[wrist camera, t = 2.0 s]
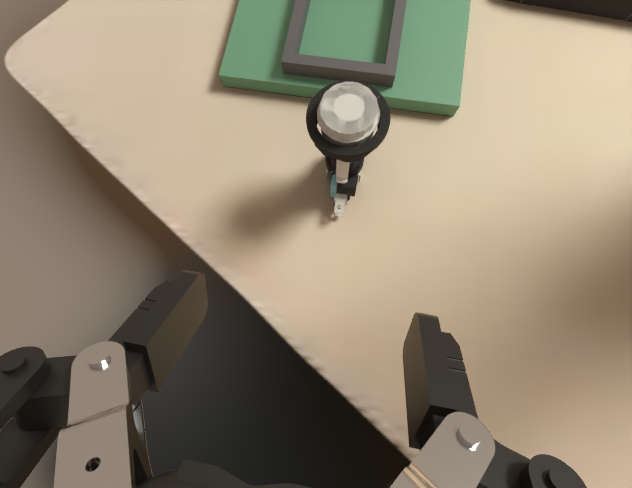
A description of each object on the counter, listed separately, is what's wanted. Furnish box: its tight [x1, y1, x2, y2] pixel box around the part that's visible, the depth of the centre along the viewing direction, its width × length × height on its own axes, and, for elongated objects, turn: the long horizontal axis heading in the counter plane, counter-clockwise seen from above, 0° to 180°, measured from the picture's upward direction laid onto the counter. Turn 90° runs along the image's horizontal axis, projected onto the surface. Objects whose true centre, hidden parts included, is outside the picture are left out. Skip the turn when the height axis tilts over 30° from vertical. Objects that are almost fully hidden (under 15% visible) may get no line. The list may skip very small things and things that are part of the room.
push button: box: [306, 80, 390, 216], centre depth 25 cm, size 7×5×10 cm
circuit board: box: [219, 0, 471, 116], centre depth 31 cm, size 22×18×4 cm
